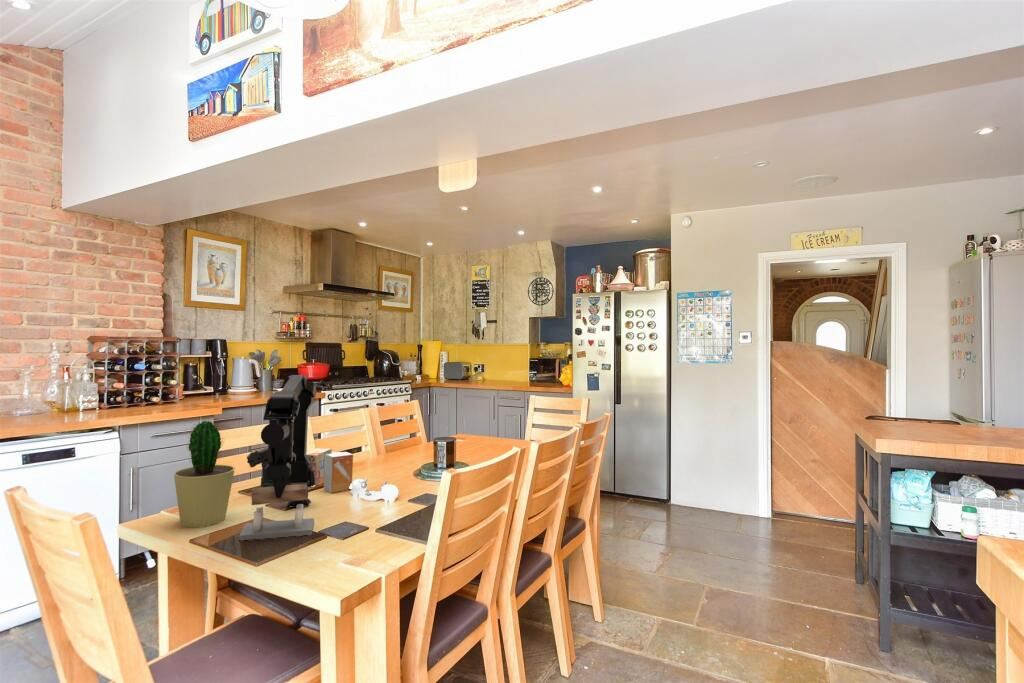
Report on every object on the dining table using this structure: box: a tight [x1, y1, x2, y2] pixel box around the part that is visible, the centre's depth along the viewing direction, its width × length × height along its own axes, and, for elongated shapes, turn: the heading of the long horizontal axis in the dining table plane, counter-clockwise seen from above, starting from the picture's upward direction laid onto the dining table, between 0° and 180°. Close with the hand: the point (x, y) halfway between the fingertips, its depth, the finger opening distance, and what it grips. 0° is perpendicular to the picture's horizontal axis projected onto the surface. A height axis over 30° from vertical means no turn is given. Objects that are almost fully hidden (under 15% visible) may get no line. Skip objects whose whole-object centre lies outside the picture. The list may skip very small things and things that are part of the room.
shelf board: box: [251, 484, 309, 506], centre depth 141 cm, size 14×6×3 cm, turn 116°
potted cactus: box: [173, 420, 236, 528], centre depth 148 cm, size 15×15×30 cm
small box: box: [323, 451, 354, 494], centre depth 183 cm, size 8×6×13 cm
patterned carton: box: [306, 447, 341, 485], centre depth 196 cm, size 21×6×12 cm, turn 173°
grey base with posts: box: [238, 504, 315, 541], centre depth 141 cm, size 10×18×6 cm, turn 108°
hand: (280, 494), depth 141 cm, fingers closed on shelf board, 6 cm apart
